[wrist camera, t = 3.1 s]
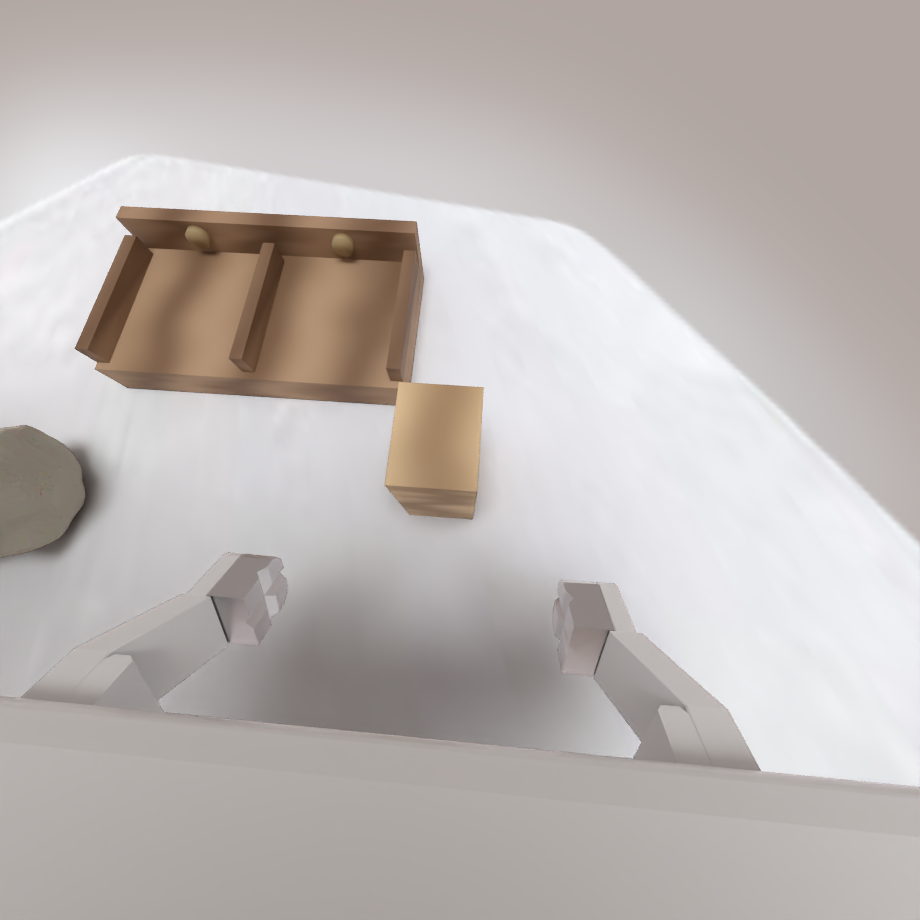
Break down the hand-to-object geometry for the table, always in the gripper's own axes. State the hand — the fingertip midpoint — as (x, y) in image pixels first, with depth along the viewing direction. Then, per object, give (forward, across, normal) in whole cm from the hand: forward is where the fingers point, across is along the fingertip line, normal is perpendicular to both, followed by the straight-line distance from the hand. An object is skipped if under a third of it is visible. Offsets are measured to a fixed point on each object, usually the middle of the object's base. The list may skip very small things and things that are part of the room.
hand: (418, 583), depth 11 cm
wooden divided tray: (+20, +14, -3) cm, 25 cm away
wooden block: (+13, 0, +4) cm, 14 cm away
